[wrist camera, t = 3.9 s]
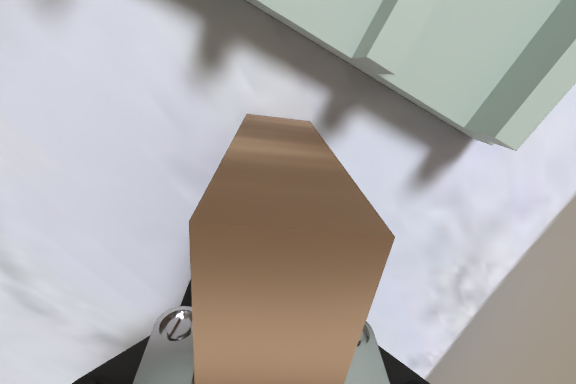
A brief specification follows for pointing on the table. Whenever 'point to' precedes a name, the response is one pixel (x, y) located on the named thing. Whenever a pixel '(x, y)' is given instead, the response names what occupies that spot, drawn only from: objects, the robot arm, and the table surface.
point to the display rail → (453, 55)
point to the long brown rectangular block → (282, 260)
